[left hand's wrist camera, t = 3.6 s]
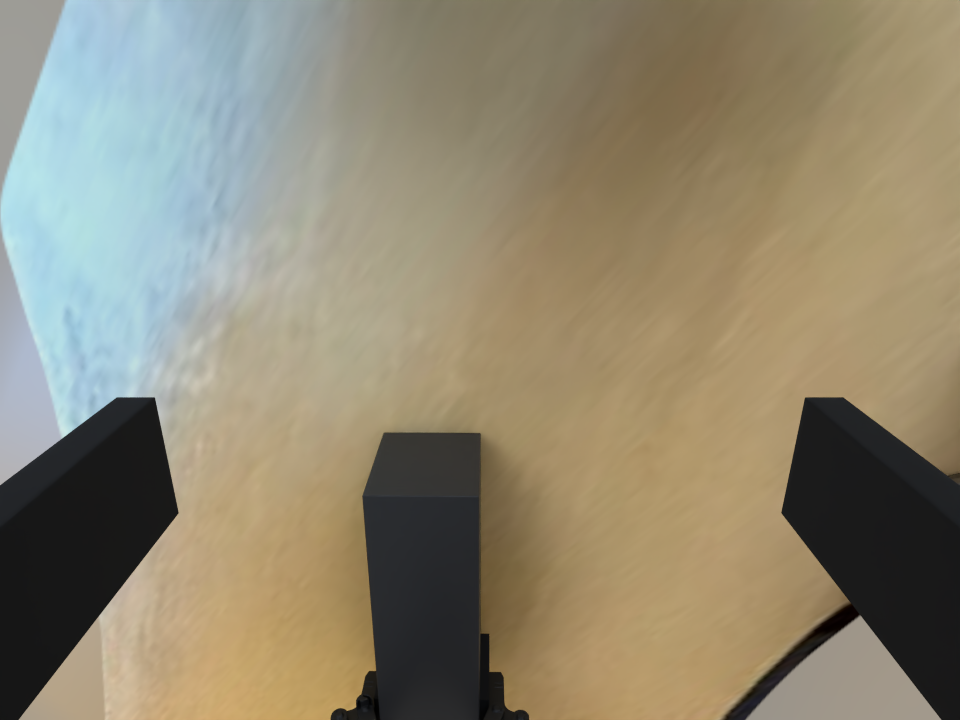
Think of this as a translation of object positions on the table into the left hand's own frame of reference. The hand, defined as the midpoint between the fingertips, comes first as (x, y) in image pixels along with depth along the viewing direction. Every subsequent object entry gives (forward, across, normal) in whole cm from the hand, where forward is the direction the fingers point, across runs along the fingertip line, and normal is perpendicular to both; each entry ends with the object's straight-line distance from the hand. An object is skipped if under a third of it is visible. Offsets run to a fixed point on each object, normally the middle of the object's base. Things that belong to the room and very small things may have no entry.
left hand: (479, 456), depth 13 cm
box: (+30, -4, -28) cm, 41 cm away
